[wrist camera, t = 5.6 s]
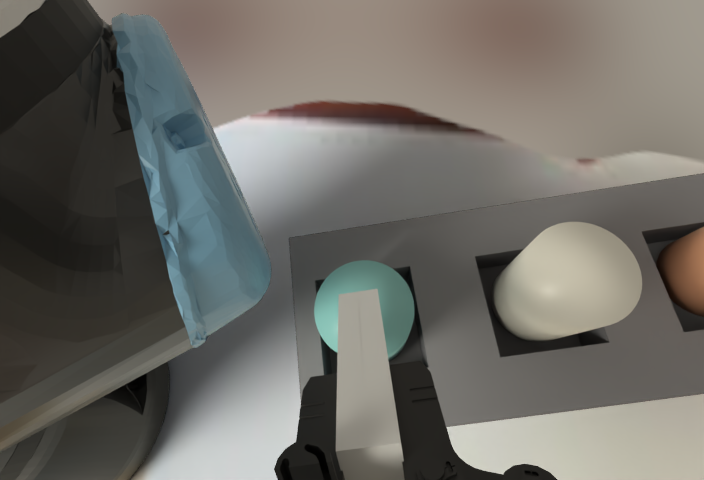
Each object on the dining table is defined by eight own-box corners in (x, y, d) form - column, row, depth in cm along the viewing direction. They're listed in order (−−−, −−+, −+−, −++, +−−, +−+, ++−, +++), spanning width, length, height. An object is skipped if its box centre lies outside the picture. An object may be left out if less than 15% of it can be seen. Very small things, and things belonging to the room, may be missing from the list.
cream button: (502, 347, 20) (543, 335, 15) (482, 268, 22) (512, 230, 16) (586, 335, 20) (660, 318, 15) (560, 256, 22) (618, 214, 16)
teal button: (338, 370, 22) (319, 367, 16) (329, 295, 23) (310, 267, 18) (415, 360, 22) (423, 353, 16) (401, 284, 23) (404, 253, 18)
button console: (331, 425, 27) (304, 445, 19) (316, 276, 31) (288, 237, 23) (709, 375, 26) (860, 373, 18) (645, 227, 30) (744, 166, 22)
